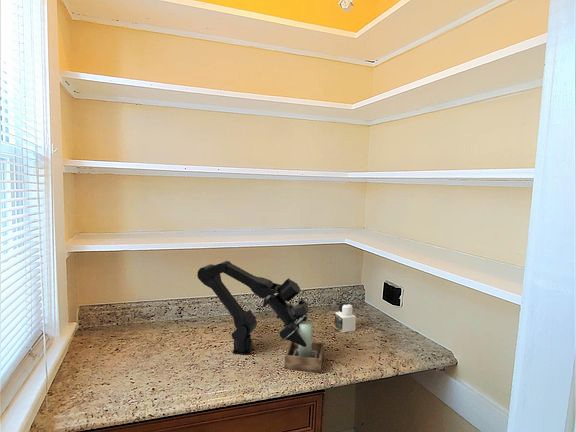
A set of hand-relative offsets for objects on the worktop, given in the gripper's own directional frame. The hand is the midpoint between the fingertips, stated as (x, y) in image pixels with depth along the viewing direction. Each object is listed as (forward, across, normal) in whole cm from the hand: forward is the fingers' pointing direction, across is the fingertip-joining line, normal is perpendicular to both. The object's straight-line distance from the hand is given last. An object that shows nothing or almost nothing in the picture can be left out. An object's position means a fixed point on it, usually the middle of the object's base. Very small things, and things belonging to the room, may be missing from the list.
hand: (308, 340), depth 130 cm
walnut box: (+5, 0, +7) cm, 9 cm away
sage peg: (+4, 0, +6) cm, 8 cm away
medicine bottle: (+12, +35, 0) cm, 37 cm away
